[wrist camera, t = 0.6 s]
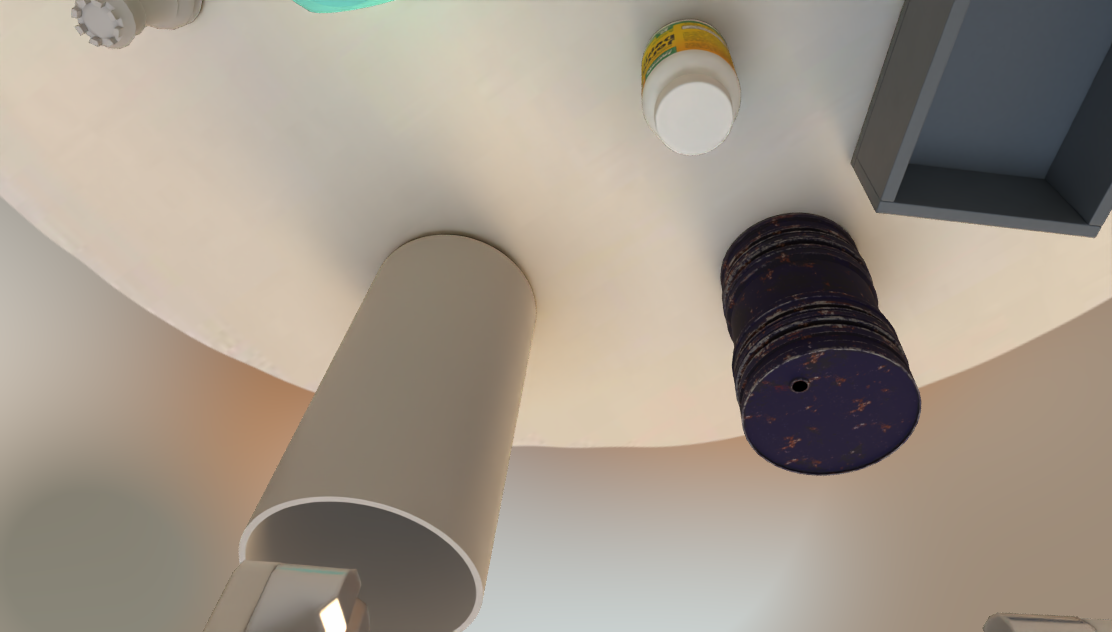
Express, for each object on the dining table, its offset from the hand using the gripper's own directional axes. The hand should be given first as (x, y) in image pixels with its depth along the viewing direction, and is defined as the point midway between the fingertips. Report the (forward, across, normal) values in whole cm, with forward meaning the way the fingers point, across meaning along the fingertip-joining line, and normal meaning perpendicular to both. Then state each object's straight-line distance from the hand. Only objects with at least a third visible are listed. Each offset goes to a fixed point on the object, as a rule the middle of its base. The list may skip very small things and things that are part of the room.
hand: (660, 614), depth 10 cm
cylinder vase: (+42, +13, +24) cm, 50 cm away
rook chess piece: (+42, +29, +2) cm, 51 cm away
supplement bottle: (+42, -3, +6) cm, 43 cm away
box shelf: (+42, -21, +4) cm, 47 cm away
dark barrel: (+42, -11, +21) cm, 48 cm away
